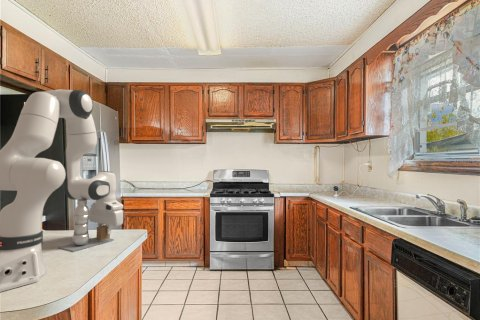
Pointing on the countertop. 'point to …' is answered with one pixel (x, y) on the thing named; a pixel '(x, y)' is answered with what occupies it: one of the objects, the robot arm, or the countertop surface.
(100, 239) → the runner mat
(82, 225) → the plastic bottle
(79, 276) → the countertop surface
